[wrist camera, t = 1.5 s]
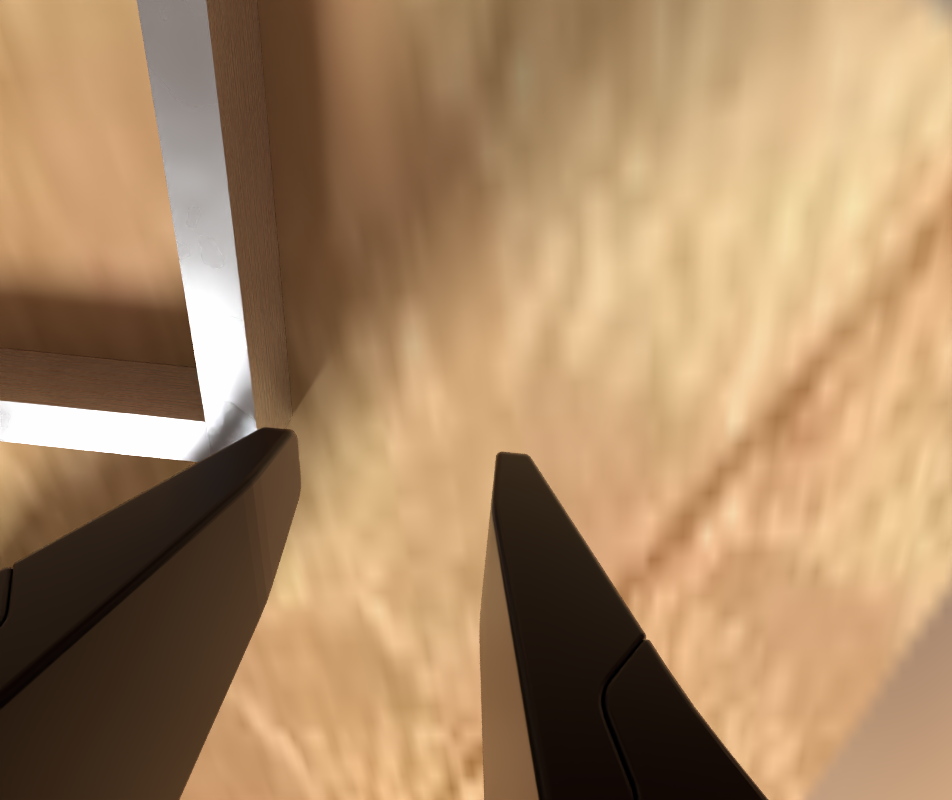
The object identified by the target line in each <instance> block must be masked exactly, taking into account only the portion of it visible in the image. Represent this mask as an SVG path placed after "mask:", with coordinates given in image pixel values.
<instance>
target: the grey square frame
mask: <svg viewBox="0 0 952 800" xmlns="http://www.w3.org/2000/svg"><path fill="white" fill-rule="evenodd" d="M137 4H138V10H139V16H140V22H141V28H142V34H143V41H144V47H145V53H146V59H147V65H148V71H149V77H150V84H151V90H152V96H153V102H154V108H155V114H156V120H157V126H158V133H159V139H160V145H161V151H162V157H163V163H164V169H165V175H166V182H167V188H168V194H169V200H170V206H171V212H172V218H173V225H174V231H175V237H176V243H177V249H178V255H179V261H180V267H181V274H182V280H183V286H184V292H185V298H186V304H187V310H188V317H189V323H190V329H191V335H192V341H193V347H194V353H195V359H196V366H197V368H193V367H183V366H173V365H163V364H154V363H144V362H134V361H124V360H114V359H104V358H94V357H84V356H74V355H64V354H54V353H44V352H35V351H25V350H15V349H5V348H0V441H4V442H14V443H23V444H33V445H42V446H52V447H61V448H71V449H80V450H89V451H99V452H108V453H118V454H127V455H137V456H146V457H155V458H165V459H174V460H184V461H193V462H200V461H202V460H203V459H205V458H207V457H209V456H211V455H212V454H214V453H216V452H218V451H220V450H222V449H223V448H225V447H227V446H229V445H231V444H233V443H234V442H236V441H238V440H240V439H242V438H243V437H245V436H247V435H249V434H251V433H253V432H254V431H256V430H258V429H260V428H263V427H270V428H280V429H285V428H286V426H287V424H288V422H289V421H290V419H291V417H292V405H291V393H290V381H289V369H288V358H287V346H286V334H285V322H284V310H283V299H282V287H281V275H280V263H279V251H278V239H277V228H276V216H275V204H274V192H273V180H272V168H271V157H270V145H269V133H268V121H267V109H266V97H265V86H264V74H263V62H262V50H261V38H260V26H259V15H258V3H257V0H137Z"/></svg>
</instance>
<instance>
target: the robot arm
mask: <svg viewBox="0 0 952 800" xmlns="http://www.w3.org/2000/svg"><path fill="white" fill-rule="evenodd" d="M300 489H301V476H300V464H299V451H298V440H297V437H296V434H295V433H294V432H293V431H292V430H289V429H280V428H270V427H263V428H260V429H258V430H256V431H254V432H253V433H251V434H249V435H247V436H245V437H243V438H242V439H240V440H238V441H236V442H234V443H233V444H231V445H229V446H227V447H225V448H223V449H222V450H220V451H218V452H216V453H214V454H212V455H211V456H209V457H207V458H205V459H203V460H202V461H200V462H198V463H196V464H194V465H192V466H191V467H189V468H187V469H185V470H183V471H181V472H180V473H178V474H176V475H174V476H172V477H171V478H169V479H167V480H165V481H163V482H161V483H160V484H158V485H156V486H154V487H152V488H150V489H149V490H147V491H145V492H143V493H141V494H140V495H138V496H136V497H134V498H132V499H130V500H129V501H127V502H125V503H123V504H121V505H119V506H118V507H116V508H114V509H112V510H110V511H109V512H107V513H105V514H103V515H101V516H99V517H98V518H96V519H94V520H92V521H90V522H88V523H87V524H85V525H83V526H81V527H79V528H77V529H76V530H74V531H72V532H70V533H68V534H67V535H65V536H63V537H61V538H59V539H57V540H56V541H54V542H52V543H50V544H48V545H46V546H45V547H43V548H41V549H39V550H37V551H35V552H34V553H32V554H30V555H28V556H26V557H24V558H23V559H21V560H19V561H17V562H16V563H15V564H14V565H13V569H12V568H10V567H6V568H4V569H2V570H0V800H179V799H180V797H181V795H182V793H183V790H184V788H185V786H186V784H187V781H188V779H189V777H190V775H191V772H192V770H193V768H194V766H195V763H196V761H197V759H198V757H199V754H200V752H201V750H202V748H203V745H204V743H205V741H206V739H207V736H208V734H209V732H210V730H211V727H212V725H213V723H214V721H215V718H216V716H217V714H218V712H219V709H220V707H221V705H222V703H223V700H224V698H225V696H226V694H227V691H228V689H229V687H230V685H231V682H232V680H233V678H234V676H235V673H236V671H237V669H238V667H239V664H240V662H241V660H242V658H243V655H244V653H245V651H246V649H247V646H248V644H249V642H250V640H251V637H252V635H253V633H254V631H255V628H256V626H257V624H258V622H259V619H260V617H261V615H262V612H263V610H264V607H265V605H266V602H267V600H268V597H269V594H270V591H271V588H272V585H273V582H274V578H275V575H276V572H277V569H278V565H279V562H280V559H281V556H282V552H283V549H284V546H285V543H286V539H287V536H288V533H289V530H290V526H291V523H292V520H293V517H294V513H295V510H296V507H297V504H298V500H299V496H300ZM480 671H481V704H482V738H483V771H484V800H768V799H767V798H766V796H765V795H764V794H763V793H762V791H761V790H760V789H759V788H758V787H757V785H756V784H755V783H754V782H753V780H752V779H751V778H750V777H749V775H748V774H747V773H746V772H745V771H744V769H743V768H742V767H741V766H740V764H739V763H738V762H737V761H736V760H735V758H734V757H733V756H732V755H731V753H730V752H729V751H728V749H727V748H726V747H725V746H724V744H723V743H722V742H721V740H720V739H719V738H718V737H717V735H716V734H715V733H714V731H713V730H712V729H711V728H710V726H709V725H708V724H707V722H706V721H705V720H704V719H703V717H702V716H701V715H700V713H699V712H698V711H697V710H696V708H695V707H694V705H693V704H692V703H691V701H690V700H689V698H688V697H687V695H686V694H685V692H684V691H683V690H682V688H681V687H680V685H679V684H678V682H677V681H676V679H675V678H674V677H673V675H672V674H671V672H670V671H669V669H668V668H667V666H666V665H665V663H664V662H663V660H662V659H661V657H660V656H659V654H658V652H657V651H656V649H655V648H654V646H653V645H652V643H651V642H650V641H649V640H646V635H645V633H644V631H643V630H642V628H641V627H640V625H639V624H638V622H637V620H636V619H635V617H634V616H633V614H632V613H631V611H630V610H629V608H628V607H627V605H626V604H625V602H624V600H623V599H622V597H621V596H620V594H619V593H618V591H617V590H616V588H615V587H614V585H613V583H612V582H611V580H610V579H609V577H608V576H607V574H606V573H605V571H604V570H603V568H602V567H601V565H600V563H599V562H598V560H597V559H596V557H595V556H594V554H593V553H592V551H591V550H590V548H589V546H588V545H587V543H586V542H585V540H584V539H583V537H582V536H581V534H580V533H579V531H578V530H577V528H576V526H575V525H574V523H573V522H572V520H571V519H570V517H569V516H568V514H567V513H566V511H565V510H564V508H563V506H562V505H561V503H560V502H559V500H558V499H557V497H556V496H555V494H554V493H553V491H552V489H551V488H550V486H549V485H548V483H547V482H546V480H545V479H544V477H543V476H542V474H541V473H540V471H539V469H538V468H537V466H536V465H535V463H534V462H533V460H532V459H531V457H530V456H528V455H527V454H520V453H510V452H499V453H498V454H497V455H496V461H495V471H494V481H493V491H492V501H491V510H490V520H489V530H488V540H487V550H486V560H485V570H484V580H483V590H482V599H481V611H480Z"/></svg>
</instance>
